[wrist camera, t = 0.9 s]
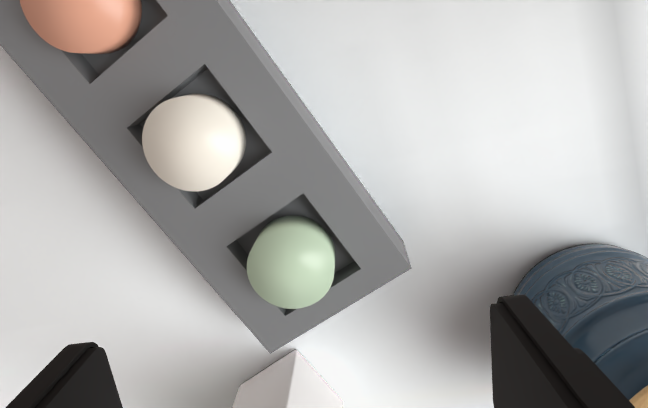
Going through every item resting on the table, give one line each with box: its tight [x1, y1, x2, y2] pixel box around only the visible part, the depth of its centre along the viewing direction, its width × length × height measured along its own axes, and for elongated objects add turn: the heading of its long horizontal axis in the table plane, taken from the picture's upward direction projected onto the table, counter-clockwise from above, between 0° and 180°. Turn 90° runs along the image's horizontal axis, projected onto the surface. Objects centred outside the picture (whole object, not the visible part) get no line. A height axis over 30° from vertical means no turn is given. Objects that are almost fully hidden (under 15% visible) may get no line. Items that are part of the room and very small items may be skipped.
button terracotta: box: [20, 0, 142, 54], centre depth 27 cm, size 6×6×3 cm
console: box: [0, 0, 411, 353], centre depth 32 cm, size 13×32×5 cm, turn 36°
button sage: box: [247, 215, 335, 309], centre depth 31 cm, size 6×6×3 cm
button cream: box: [142, 93, 246, 191], centre depth 29 cm, size 6×6×3 cm
